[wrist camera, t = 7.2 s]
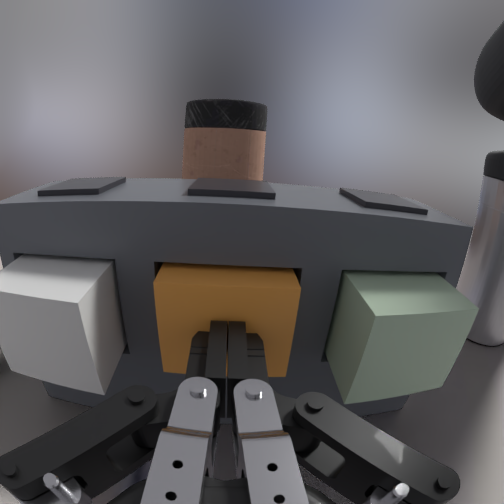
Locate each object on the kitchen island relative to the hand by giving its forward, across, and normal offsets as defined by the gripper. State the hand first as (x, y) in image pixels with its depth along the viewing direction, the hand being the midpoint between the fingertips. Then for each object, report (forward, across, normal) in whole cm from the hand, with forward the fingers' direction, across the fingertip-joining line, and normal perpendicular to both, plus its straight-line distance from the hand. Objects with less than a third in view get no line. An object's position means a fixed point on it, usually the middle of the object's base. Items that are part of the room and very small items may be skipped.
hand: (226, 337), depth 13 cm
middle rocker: (+3, 0, +2) cm, 4 cm away
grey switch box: (+5, 0, +8) cm, 10 cm away
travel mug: (+18, +1, +9) cm, 20 cm away
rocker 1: (+1, +9, +2) cm, 9 cm away
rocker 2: (+1, -8, +3) cm, 9 cm away
